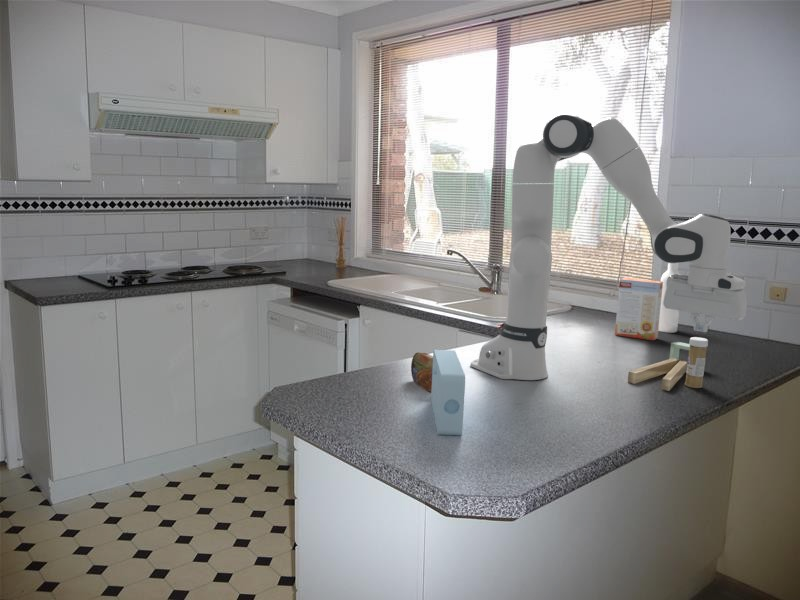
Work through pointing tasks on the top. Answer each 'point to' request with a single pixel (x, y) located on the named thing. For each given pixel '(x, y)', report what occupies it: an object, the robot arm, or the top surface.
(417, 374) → the tin
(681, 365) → the tong arm
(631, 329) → the cracker box
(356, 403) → the top surface
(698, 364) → the sprinkles bottle
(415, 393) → the top surface
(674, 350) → the sleeve
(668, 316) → the bottle
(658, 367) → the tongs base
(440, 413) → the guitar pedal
